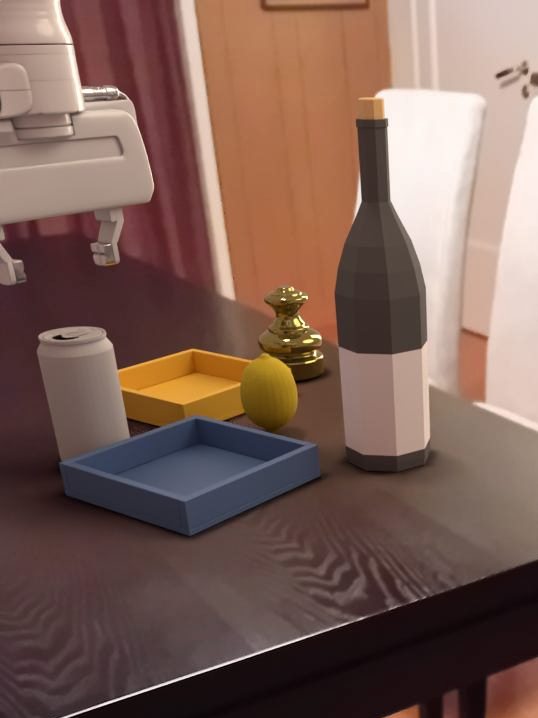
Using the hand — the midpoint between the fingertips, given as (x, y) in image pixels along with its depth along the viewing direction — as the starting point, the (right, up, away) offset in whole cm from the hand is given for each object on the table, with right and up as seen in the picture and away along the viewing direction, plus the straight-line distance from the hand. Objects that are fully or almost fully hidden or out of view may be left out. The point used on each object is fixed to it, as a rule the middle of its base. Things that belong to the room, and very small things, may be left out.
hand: (62, 273), depth 86 cm
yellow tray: (+4, -5, +25) cm, 26 cm away
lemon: (+15, -11, +16) cm, 24 cm away
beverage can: (0, -15, +9) cm, 17 cm away
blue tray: (+10, -18, +4) cm, 21 cm away
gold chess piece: (+13, 0, +34) cm, 37 cm away
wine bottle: (+27, -14, +10) cm, 32 cm away
